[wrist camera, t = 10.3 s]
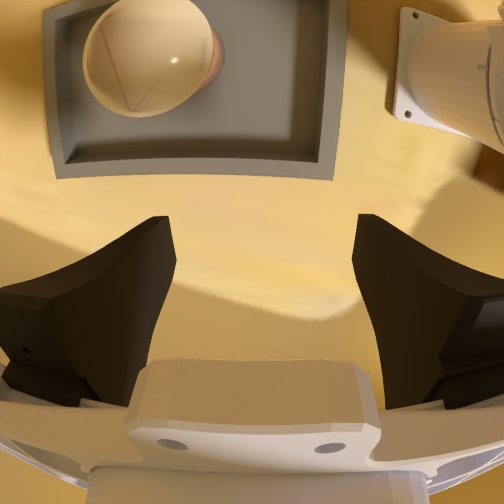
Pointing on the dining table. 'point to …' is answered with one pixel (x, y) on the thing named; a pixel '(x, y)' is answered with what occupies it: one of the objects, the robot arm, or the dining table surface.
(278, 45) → the serving tray
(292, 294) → the dining table surface
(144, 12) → the cup
